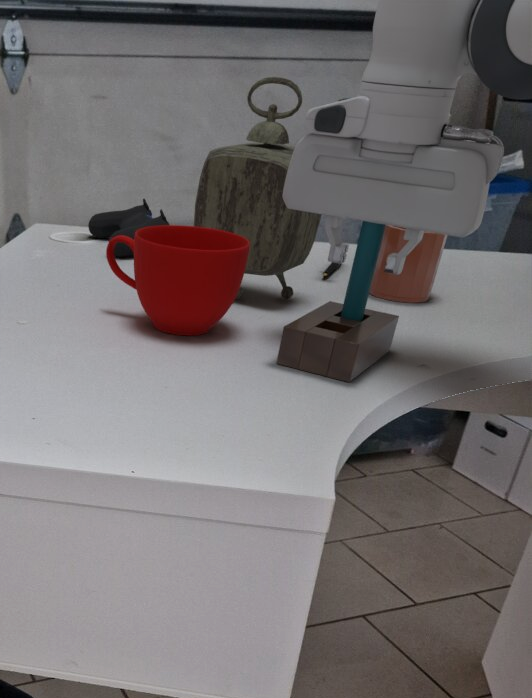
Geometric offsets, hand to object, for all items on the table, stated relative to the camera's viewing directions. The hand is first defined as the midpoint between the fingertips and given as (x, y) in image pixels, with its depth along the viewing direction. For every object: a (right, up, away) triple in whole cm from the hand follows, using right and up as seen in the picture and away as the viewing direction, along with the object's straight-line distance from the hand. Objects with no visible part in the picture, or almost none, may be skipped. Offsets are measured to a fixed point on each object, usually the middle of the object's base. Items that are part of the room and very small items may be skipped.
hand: (363, 267), depth 89 cm
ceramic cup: (-20, -3, +10) cm, 23 cm away
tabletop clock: (-9, +5, +23) cm, 25 cm away
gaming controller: (-23, +20, +43) cm, 53 cm away
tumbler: (+14, +8, +28) cm, 33 cm away
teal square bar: (-1, -7, +5) cm, 9 cm away
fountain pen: (+8, +14, +38) cm, 41 cm away
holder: (-2, -9, +3) cm, 10 cm away
